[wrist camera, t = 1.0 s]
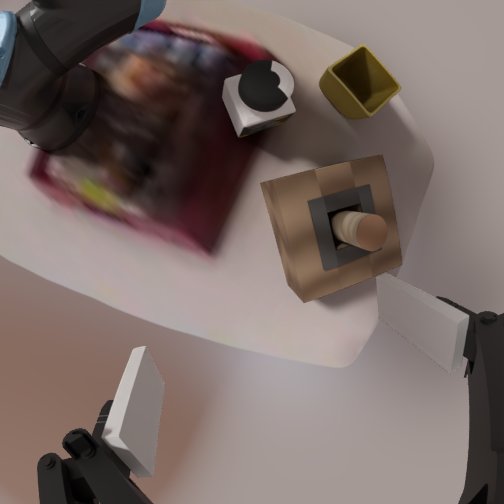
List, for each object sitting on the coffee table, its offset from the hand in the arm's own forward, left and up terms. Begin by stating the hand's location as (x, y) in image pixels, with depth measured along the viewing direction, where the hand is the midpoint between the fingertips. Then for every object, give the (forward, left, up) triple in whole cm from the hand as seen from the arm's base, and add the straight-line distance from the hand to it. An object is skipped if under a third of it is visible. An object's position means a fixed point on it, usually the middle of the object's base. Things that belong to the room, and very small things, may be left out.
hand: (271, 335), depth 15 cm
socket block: (+1, +15, -28) cm, 32 cm away
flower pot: (-18, +24, -28) cm, 41 cm away
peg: (+1, +15, -22) cm, 26 cm away
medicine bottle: (-18, +9, -28) cm, 35 cm away
